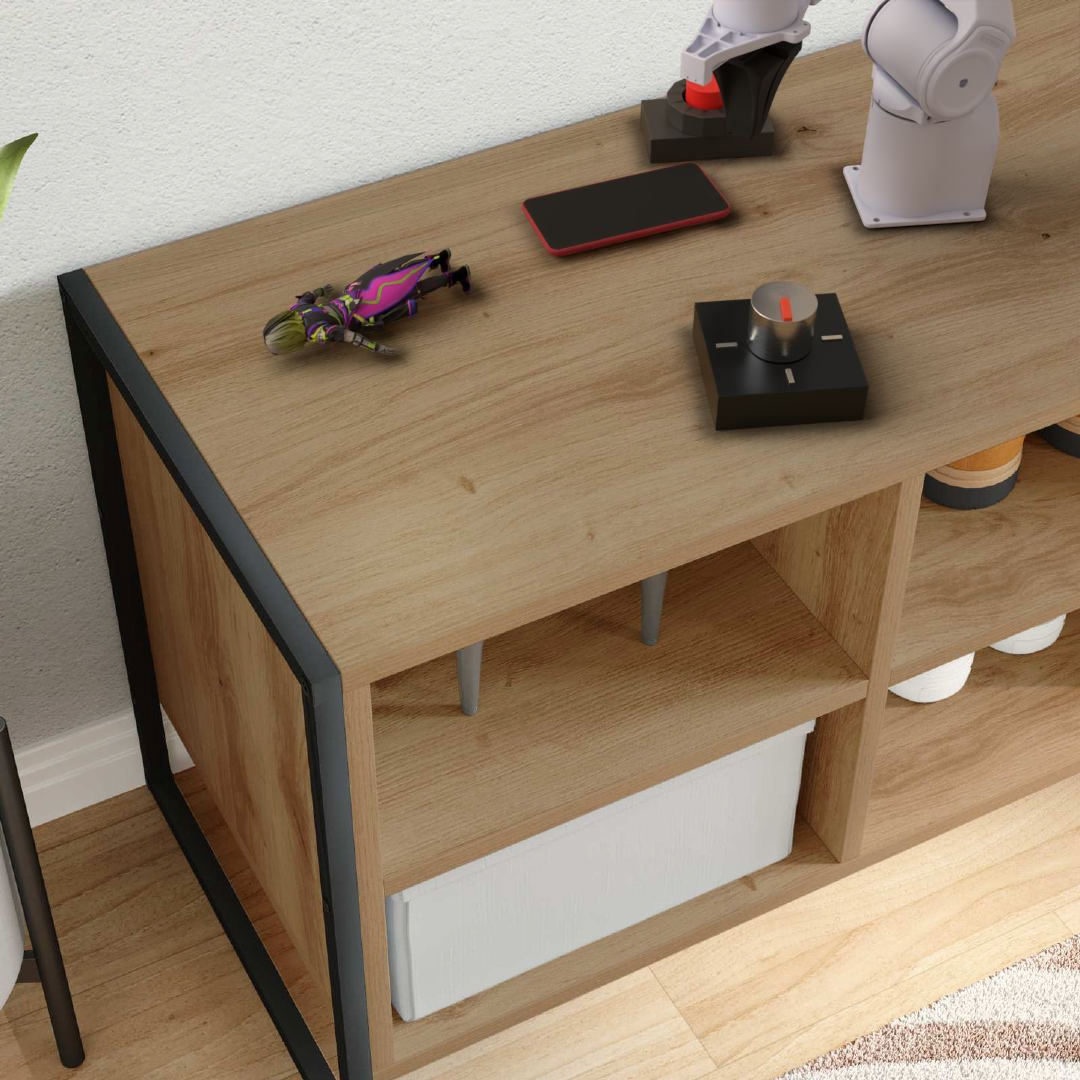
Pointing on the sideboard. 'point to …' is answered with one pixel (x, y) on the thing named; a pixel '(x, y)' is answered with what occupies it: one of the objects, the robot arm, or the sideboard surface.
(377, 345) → the character figure
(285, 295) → the sideboard surface
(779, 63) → the robot arm
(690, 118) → the light switch
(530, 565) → the sideboard surface
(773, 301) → the dimmer knob
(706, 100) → the light button
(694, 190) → the smartphone
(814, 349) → the dimmer panel
